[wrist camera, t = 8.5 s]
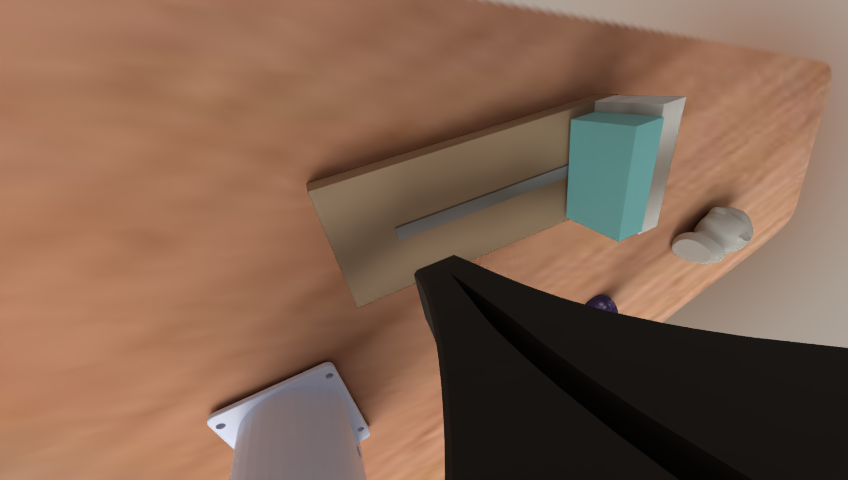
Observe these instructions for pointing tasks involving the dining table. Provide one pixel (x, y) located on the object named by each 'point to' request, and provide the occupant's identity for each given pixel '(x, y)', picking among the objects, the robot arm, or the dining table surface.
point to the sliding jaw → (611, 171)
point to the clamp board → (468, 193)
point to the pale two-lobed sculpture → (714, 236)
